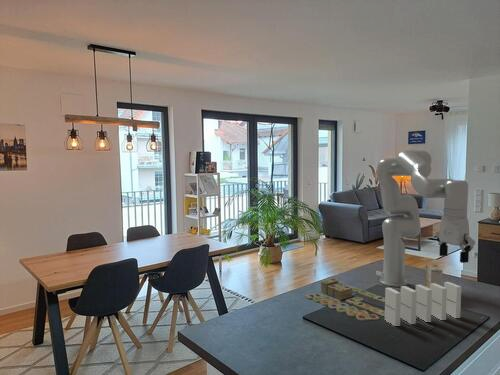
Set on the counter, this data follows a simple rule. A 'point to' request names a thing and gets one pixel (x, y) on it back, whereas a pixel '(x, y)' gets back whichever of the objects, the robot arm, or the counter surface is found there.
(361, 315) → the pile of dominoes
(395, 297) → the domino
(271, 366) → the counter surface
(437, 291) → the domino
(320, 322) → the counter surface
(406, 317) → the domino
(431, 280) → the supplement box
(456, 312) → the domino
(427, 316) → the domino
